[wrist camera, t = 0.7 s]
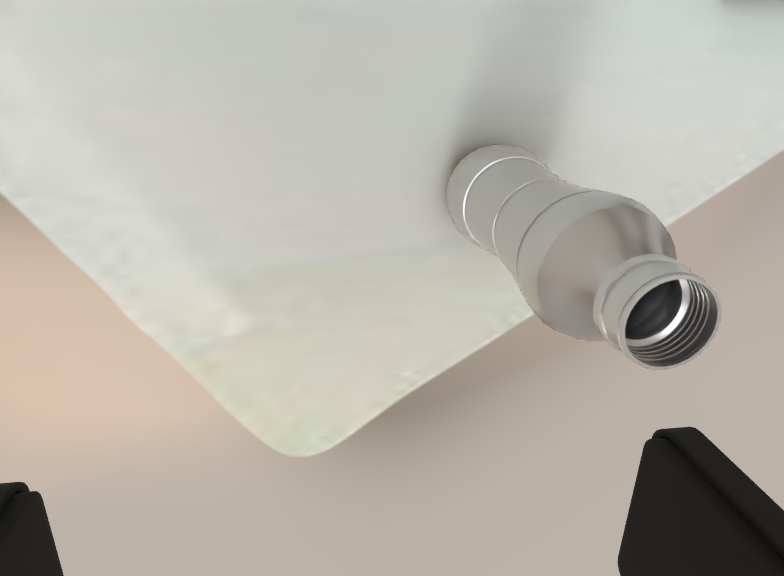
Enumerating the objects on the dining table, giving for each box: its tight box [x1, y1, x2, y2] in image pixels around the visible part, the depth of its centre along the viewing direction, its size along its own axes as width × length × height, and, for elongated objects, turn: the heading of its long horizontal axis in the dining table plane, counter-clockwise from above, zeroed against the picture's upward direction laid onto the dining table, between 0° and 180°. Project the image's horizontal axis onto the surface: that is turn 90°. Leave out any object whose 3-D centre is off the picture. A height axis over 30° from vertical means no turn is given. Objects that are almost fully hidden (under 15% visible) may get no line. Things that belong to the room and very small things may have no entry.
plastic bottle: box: [447, 145, 721, 370], centre depth 28 cm, size 6×7×20 cm
